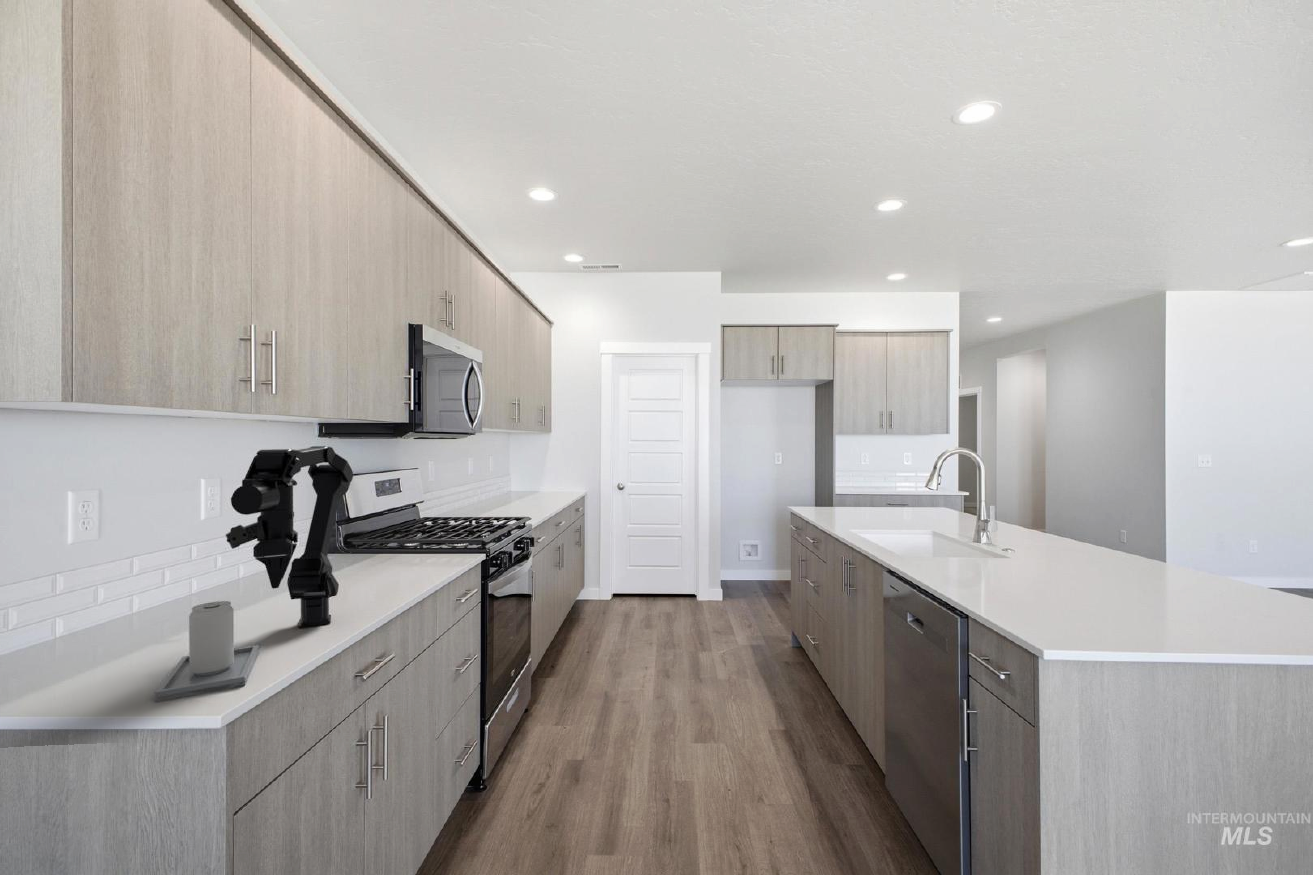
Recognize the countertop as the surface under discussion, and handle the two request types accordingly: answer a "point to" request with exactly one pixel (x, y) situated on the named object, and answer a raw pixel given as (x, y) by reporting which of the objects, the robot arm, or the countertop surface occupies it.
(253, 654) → the tray
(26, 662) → the countertop surface
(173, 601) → the countertop surface
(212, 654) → the beverage can
